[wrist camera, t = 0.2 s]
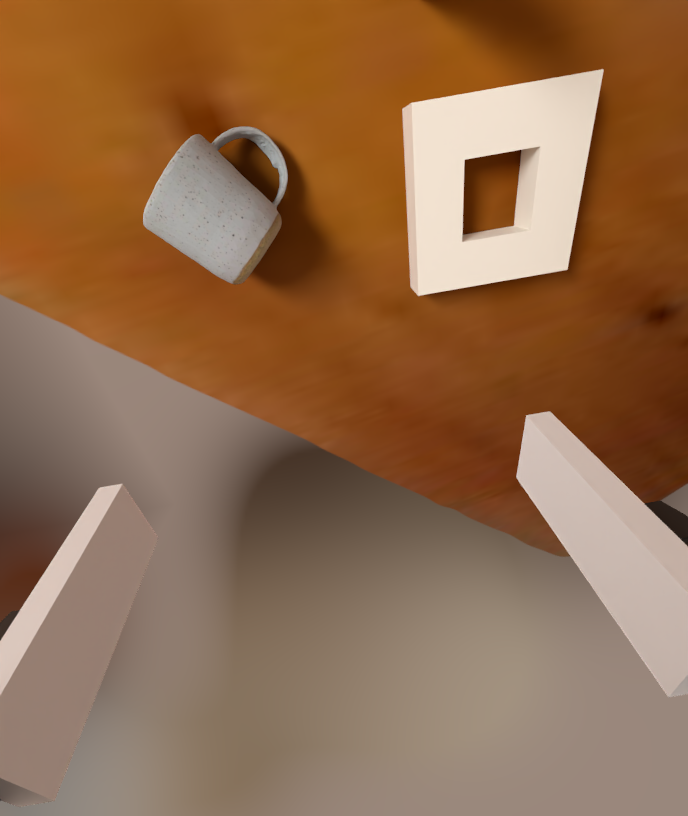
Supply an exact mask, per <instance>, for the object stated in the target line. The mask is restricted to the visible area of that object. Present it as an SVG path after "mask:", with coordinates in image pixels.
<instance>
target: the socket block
mask: <svg viewBox="0 0 688 816" xmlns="http://www.w3.org/2000/svg"><path fill="white" fill-rule="evenodd" d="M603 70H604V69H602V70H596V71H591V72H585V73H579V74H574V75H568V76H562V77H556V78H551V79H545V80H539V81H534V82H528V83H522V84H517V85H511V86H505V87H500V88H494V89H488V90H483V91H477V92H471V93H466V94H460V95H454V96H449V97H443V98H437V99H432V100H426V101H420V102H415V103H411V104H409V105H408V106H406V107H405V108H403V109H402V112H403V133H404V155H405V177H406V198H407V220H408V242H409V264H410V285H411V288H412V289H413V290H414V291H415V293H416V294H417V295H418V296H420V295H426V294H431V293H437V292H443V291H449V290H454V289H460V288H466V287H472V286H477V285H483V284H489V283H494V282H500V281H506V280H512V279H517V278H523V277H529V276H535V275H540V274H546V273H552V272H558V271H563V270H567V269H568V264H569V258H570V253H571V247H572V242H573V236H574V231H575V225H576V220H577V214H578V209H579V203H580V197H581V192H582V186H583V181H584V175H585V170H586V164H587V159H588V153H589V148H590V142H591V137H592V131H593V126H594V120H595V115H596V109H597V103H598V98H599V92H600V87H601V81H602V76H603ZM517 150H521V159H520V169H519V180H518V190H517V200H516V210H515V221H514V226H511V227H505V228H499V229H493V230H488V231H482V232H476V233H471V234H465V235H462V234H463V198H464V163H465V160H466V159H471V158H477V157H483V156H488V155H494V154H500V153H505V152H511V151H517Z"/></svg>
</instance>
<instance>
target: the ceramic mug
mask: <svg viewBox="0 0 688 816" xmlns="http://www.w3.org/2000/svg"><path fill="white" fill-rule="evenodd" d="M239 138H247V139H250V140H251V141H252V142H255V143H256V144H257V145H258V146H259V147H260V149H261V150H262V151H263V152H264V153H265V154H266V155H267V156H268V158H269V159H270V161H271V163H272V166H273V167H275V168H277V169H278V171H279V175H280V186H279V189H278V193H277V196H276V198H275V200H274V202H272V203H271V202H270V201H269V200H268V199H267V198H266V197H265V196H264V195H263V194H262V193H261V192H260V191H259V190H258V189H257V188H256V187H254V186H253V185H252V184H251V183H250V182H249V181H248V180H247V179H246V178H245V177H244V176H242V175H241V174H240V173H239V171H238V170H237V169H236V168H235V167H234V166H233V165H232V164H231V163H230V162H229V161H227V160H226V159H225V158H224V157H223V156H222V155H221V154H220V153H219V152H218V150H219V149H220V148H221V147H222V146H223V145H225V144H226V143H228V142H230V141H232V140H234V139H239ZM287 181H288V173H287V167H286V163H285V159H284V157H283V155H282V153H281V151H280V150H279V148H278V147H277V146H276V144H275V143H274V142H273V141H272V140H271V139H270V138H269V137H268V136H267V135H266V134H265V133H263V132H262V131H260V130H259V129H256V128H253V127H248V126H246V127H234V128H232V129H230V130H228V131H226V132H224V133H222V134H221V135H220V136H219V137H217V138H216V139H215V140H214V141H213V142H212V143H209V142H208V141H207V140H206V139H205V138H204V137H203V136H201V135H200V134H196V135H193V136H191V137H190V138H189V139H188V140H187V141H186V142H185V143H184V144H183V145H182V146H181V147H180V149H179V150H178V151H177V152H176V154H175V156H174V157H173V158H172V159H171V161H170V162H169V164H168V165H167V167H166V168H165V170H164V171H163V174H162V175H161V177H160V179H159V180H158V182H157V184H156V186H155V188H154V190H153V192H152V194H151V197H150V199H149V200H148V203H147V205H146V207H145V210H144V214H143V224H144V226H145V227H146V228H147V229H148V230H150V231H151V232H153V233H154V234H156V235H157V236H159V237H160V238H162V239H163V240H165V241H166V242H168V243H169V244H171V245H172V246H173V247H175V248H177V249H178V250H179V251H181V252H182V253H184V254H185V255H187V256H188V257H190V258H191V259H193V260H195V261H196V262H198V263H199V264H200V265H202V266H203V267H205V268H206V269H207V270H209V271H210V272H212V273H213V274H215V275H217V276H218V277H220V278H221V279H224V280H226V281H227V282H229V283H232V284H241V283H243V282H244V281H245V280H246V279H247V278H248V276H249V275H250V274H251V273H252V271H253V270H254V268H255V267H256V266H257V264H258V263H259V262H260V260H261V259H262V257H263V256H264V254H265V253H266V251H267V249H268V248H269V246H270V245H271V243H272V242H273V240H274V238H275V237H276V235H277V233H278V232H279V230H280V228H281V225H282V221H281V215H280V214H279V212H278V211H277V206H278V204H279V203H280V201H281V199H282V198H283V196H284V193H285V191H286V186H287Z"/></svg>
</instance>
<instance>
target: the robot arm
mask: <svg viewBox="0 0 688 816" xmlns="http://www.w3.org/2000/svg"><path fill="white" fill-rule="evenodd" d="M516 478H517V479H518V481H519V482H520V483H521V485H522V486H523V488H524V489H525V491H526V492H527V494H528V495H529V496H530V498H531V499H532V501H533V502H534V504H535V505H536V507H537V508H538V509H539V511H540V512H541V514H542V515H543V517H544V518H545V520H546V521H547V522H548V524H549V525H550V527H551V528H552V530H553V531H554V533H555V534H556V536H557V537H558V538H559V540H560V541H561V543H562V544H563V546H564V547H565V549H566V550H567V551H568V553H569V554H570V556H571V557H572V558H573V560H574V562H575V563H576V564H577V566H578V567H579V569H580V570H581V572H582V573H583V575H584V576H585V577H586V579H587V580H588V582H589V583H590V585H591V586H592V588H593V589H594V590H595V592H596V593H597V595H598V596H599V598H600V599H601V601H602V602H603V603H604V605H605V606H606V608H607V609H608V611H609V612H610V613H611V615H612V616H613V618H614V619H615V621H616V622H617V624H618V625H619V627H620V628H621V629H622V631H623V632H624V634H625V635H626V637H627V638H628V640H629V641H630V642H631V644H632V645H633V647H634V648H635V650H636V651H637V653H638V654H639V655H640V657H641V658H642V660H643V661H644V663H645V664H646V666H647V667H648V668H649V670H650V671H651V673H652V674H653V676H654V677H655V678H656V680H657V681H658V683H659V684H660V685H661V687H662V689H663V690H664V692H665V693H666V694H667V696H668V697H672V696H679V695H685V694H688V517H687V516H686V515H685V514H683V513H681V512H679V511H678V510H676V509H674V508H672V507H670V506H668V505H667V504H665V503H663V502H662V501H656V502H650V503H643V502H642V501H641V500H640V499H639V498H638V497H637V496H636V495H635V494H634V493H633V492H632V491H631V490H630V489H629V488H628V487H627V486H626V485H625V484H624V483H622V482H621V481H620V480H619V479H618V478H617V477H616V476H615V475H614V474H613V473H612V472H611V471H610V470H609V469H608V468H607V467H606V466H605V465H604V464H603V463H602V462H601V461H600V460H599V459H598V458H597V457H596V456H595V455H594V454H593V453H592V452H591V451H590V450H589V449H588V448H587V447H586V446H585V445H584V444H583V443H582V442H581V441H580V440H579V439H578V438H577V437H576V436H574V435H573V434H572V433H571V432H570V431H569V430H568V429H567V428H566V427H565V426H564V425H563V424H562V423H561V422H560V421H559V420H558V419H557V418H556V417H555V416H554V415H553V414H552V413H551V412H550V411H549V412H544V413H538V414H532V415H526V421H525V427H524V433H523V439H522V446H521V452H520V458H519V464H518V471H517V477H516ZM157 540H158V537H157V535H156V534H155V532H154V531H153V529H152V528H151V526H150V525H149V523H148V521H147V520H146V519H145V517H144V515H143V514H142V512H141V511H140V509H139V508H138V506H137V505H136V503H135V502H134V500H133V499H132V497H131V496H130V494H129V493H128V491H127V490H126V488H125V487H124V485H123V484H119V485H113V486H107V487H101V488H99V489H98V491H97V492H96V494H95V495H94V497H93V498H92V500H91V501H90V503H89V504H88V506H87V507H86V509H85V511H84V512H83V514H82V515H81V517H80V518H79V520H78V521H77V523H76V524H75V526H74V528H73V529H72V531H71V532H70V534H69V535H68V537H67V538H66V540H65V542H64V543H63V545H62V546H61V548H60V549H59V551H58V552H57V554H56V556H55V557H54V559H53V560H52V562H51V563H50V565H49V567H48V568H47V570H46V571H45V573H44V574H43V576H42V577H41V579H40V580H39V582H38V583H37V585H36V586H35V588H34V590H33V591H32V593H31V594H30V596H29V597H28V599H27V600H26V602H25V604H24V605H23V607H22V608H21V610H18V611H12V612H10V613H9V614H8V616H6V618H4V619H3V621H2V622H0V800H1V801H4V802H7V803H9V804H12V805H15V806H18V807H21V806H27V805H33V804H39V803H45V802H51V801H55V798H56V796H57V793H58V791H59V788H60V785H61V783H62V780H63V778H64V775H65V773H66V770H67V768H68V765H69V763H70V760H71V758H72V755H73V753H74V750H75V748H76V745H77V743H78V740H79V737H80V735H81V732H82V730H83V727H84V725H85V722H86V720H87V717H88V715H89V712H90V710H91V707H92V705H93V702H94V700H95V697H96V694H97V692H98V689H99V687H100V684H101V682H102V679H103V677H104V674H105V672H106V669H107V667H108V664H109V662H110V659H111V657H112V654H113V652H114V649H115V647H116V644H117V642H118V639H119V636H120V634H121V631H122V629H123V626H124V624H125V621H126V619H127V616H128V613H129V611H130V609H131V606H132V604H133V601H134V599H135V596H136V594H137V591H138V588H139V586H140V583H141V581H142V578H143V576H144V573H145V571H146V568H147V566H148V563H149V561H150V558H151V556H152V553H153V551H154V548H155V546H156V543H157Z"/></svg>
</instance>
